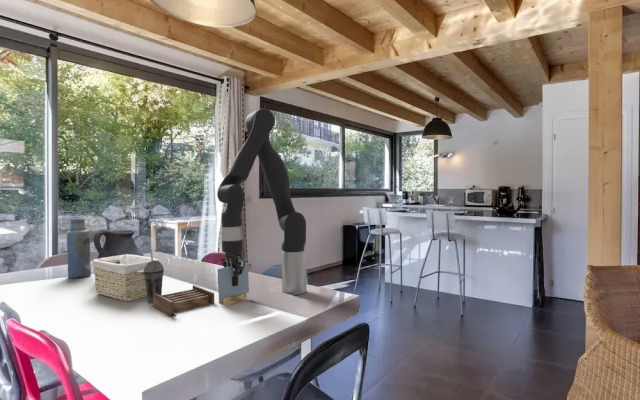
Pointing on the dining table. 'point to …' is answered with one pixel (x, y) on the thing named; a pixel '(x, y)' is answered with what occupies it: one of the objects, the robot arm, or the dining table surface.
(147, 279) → the beverage cup
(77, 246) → the bottle
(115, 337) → the dining table surface
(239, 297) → the plate stand
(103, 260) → the storage basket
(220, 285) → the plate
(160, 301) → the rack
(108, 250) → the pitcher
